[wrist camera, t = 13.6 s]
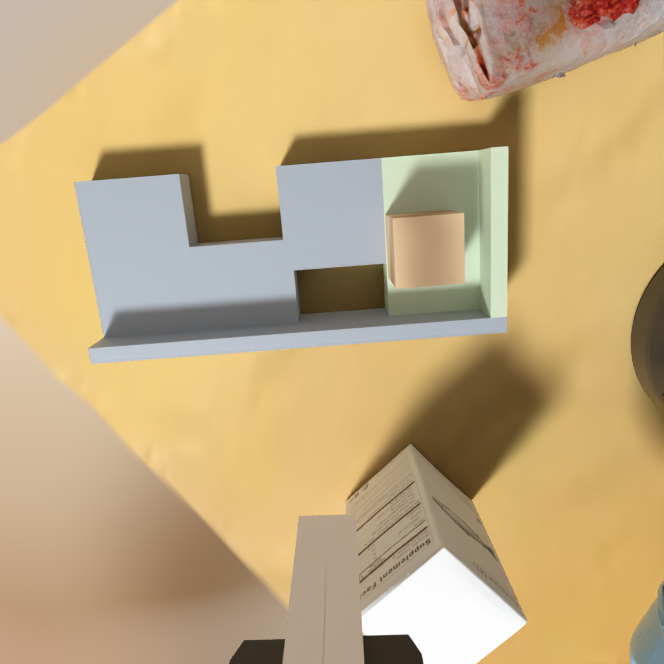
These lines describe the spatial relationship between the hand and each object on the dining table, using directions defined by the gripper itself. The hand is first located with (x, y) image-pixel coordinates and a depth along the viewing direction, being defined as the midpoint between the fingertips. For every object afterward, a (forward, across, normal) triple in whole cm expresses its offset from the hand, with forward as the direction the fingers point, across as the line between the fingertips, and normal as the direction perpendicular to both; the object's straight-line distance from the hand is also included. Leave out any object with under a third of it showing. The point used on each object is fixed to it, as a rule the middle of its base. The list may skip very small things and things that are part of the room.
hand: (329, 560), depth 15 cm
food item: (+25, -13, -19) cm, 35 cm away
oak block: (+23, -6, -6) cm, 24 cm away
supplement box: (+26, -5, +14) cm, 30 cm away
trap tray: (+25, +2, -6) cm, 26 cm away
